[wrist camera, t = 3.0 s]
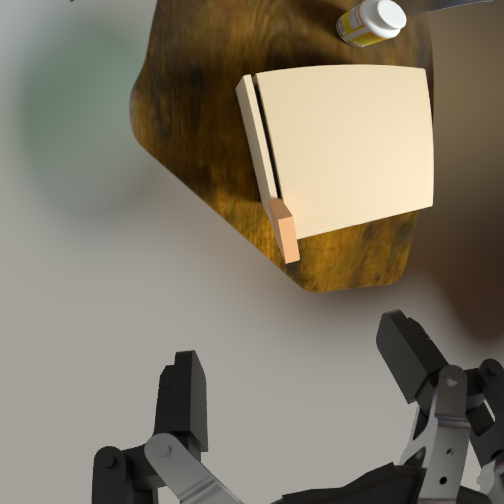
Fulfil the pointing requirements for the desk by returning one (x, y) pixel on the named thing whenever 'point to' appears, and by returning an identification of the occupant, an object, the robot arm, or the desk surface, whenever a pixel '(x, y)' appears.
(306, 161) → the carton
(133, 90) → the desk surface
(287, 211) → the end flap
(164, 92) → the desk surface
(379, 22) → the supplement bottle
